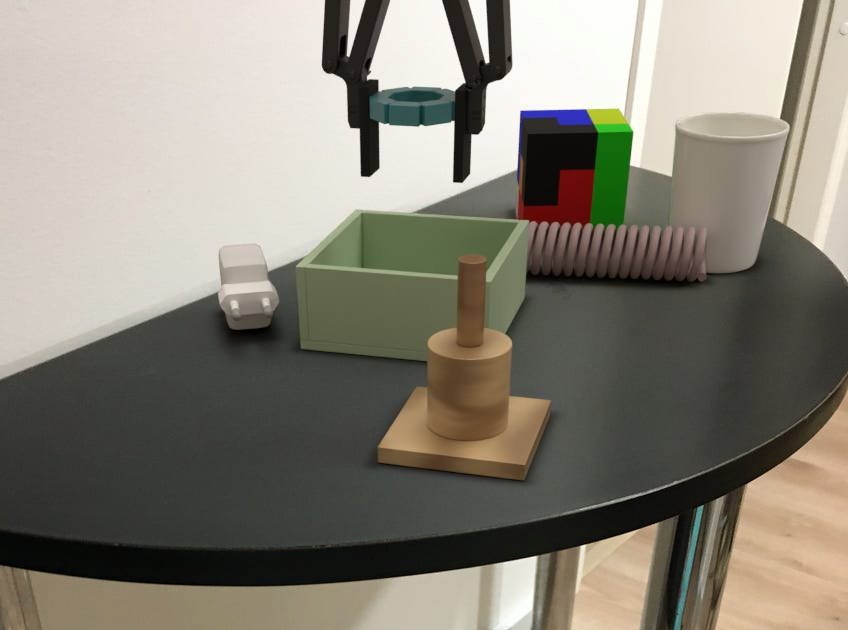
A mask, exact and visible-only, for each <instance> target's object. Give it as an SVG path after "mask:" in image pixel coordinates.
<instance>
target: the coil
mask: <svg viewBox="0 0 848 630" xmlns="http://www.w3.org/2000/svg"><path fill="white" fill-rule="evenodd" d="M662 230H663V233H662ZM684 232H685V230H684V228H683V227H680V226H679V227H677V229H676V231H675V235H674V241H673V229H672V227H671V226H668V225H667V226H665V228H664V229H662V227H661V226H660V225H655V226H653V228H652V230H651V227H650V226H649V225H647V224H645V225H642V226H641V228H640V229H639V226H638V225H637V224H632V225H630V227H629V229H628V226H627V225H626V224H622V225H620V226H619V228H618V230H617V233H616V227H615V225H614V224H610V225H608V227H607V229H606V232H605V227H604V225H603V224H598V225H597V226H596V227H595V230H594V227H593V225H592V224H591V223H588V224H586V225H585V227H584V229H583V227H582V225H581V224H580V223H576V224H574V226H573V228H572V227H571V224H570V223H567V222H566V223H564V224H563V225H562V227H560V224H559V223H558V222H554V223H552V225H551V226H550V227H549V224H548V223H547V222H542V223H541V224H540V225H539V226H538V224H537V223H536V222H535V221H532V222H530V223H529V233H528V250H527V266H526V275H527V273H529V270H530V272H531V274H532V275H533V276H536V275H538V274H539V273H540V269H541V273H542V274H543V276H549V275H550V273H551V269H552V274H553V276H556V277H558V276H560V275H561V274H562V270H563V275H564V276H565V277H571V276H572V274H573V271H574V275H575V277H578V278H580V277H582V276H583V275H584V273H585V276H587V278H593V277H594V275H595V273H596V276H597V277H598V278H599V279H602V278H604V277H605V276H606V275H607V277H608V278H610V279H614V278H616V277H617V276H618V277H619V278H621V279H623V280H624V279H627V277H628V276H629V277H630V278H631V279H632V280H637V279H639V277H640V276H641V278H642V280H645V281H646V280H649V279H650V278H651V277H652V279H653V280H654V281H660V280H661V279H662V278H663V279H664V280H665V281H667V282H669V281H672V280H673V279H675V280H676V281H677V282H682V281H683V280H685V279H686V280H687V281H688V282H690V283H692V282H694V281H696V279H697V280H698V281H699V282H705V281H706V280H707V278H708V277H707V273H706V268H705V263H706V244H707V233H708V230H707V228H705V227H702V228H700V230H699V233H698V238H697V244H696V249H695V239H696V229H695V228H694V227H690V228H688V230H687V234H686V239H685V245H684ZM672 242H673V246H672ZM683 247H684V250H683Z"/></svg>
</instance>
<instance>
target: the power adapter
mask: <svg viewBox="0 0 848 630" xmlns="http://www.w3.org/2000/svg"><path fill="white" fill-rule="evenodd" d="M218 267H219V278H220V286H221V287H220V289H219V290H218V292H217V298H218V302H219V307H220V308H221V310H222V311H223V312H224V315H225V319H226V323H227V325H228V329H231V330H238V331H239V330H251V329H261V328H267V327H268V326H270V325H271V323H272V317H273V316H274V312H275V310H276V308H277V307H278V305H279V303H280V297H279V295H278V294H279V293H278V291H277V289H276V287H275V286H274V284H272V282H271V281H270V279H269V268H268V264H267V261H266V258H265V254H264V251H263V249H262V246H261V245H260V244H258V243H240V244H229V245H224V246H221V247H220V248H219V249H218Z"/></svg>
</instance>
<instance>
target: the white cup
mask: <svg viewBox="0 0 848 630" xmlns="http://www.w3.org/2000/svg"><path fill="white" fill-rule="evenodd" d="M790 130H791V127H790V124H789V123H788V122H787V121H786V120H784V119H781V118H778V117H775V116H771V115H767V114H762V113H755V112H754V113H753V112H743V111H709V112H708V111H707V112H699V113H693V114H688V115H685V116H681V117H680V118H678V119H677V120H676V121H675V124H674V144H673V157H672V170H671V183H670V196H669V210H668V220H667V221H668V222H667V226H671V227H672V229H673V241H674V235H675V231H676V229H677V227H679V226H680V227H683V228H684V230H685V232H684V245H685V239H686V234H687V230H688V228H690V227H694V228H695V229H696V239H695V249H696V244H697V238H698V233H699V230H700V228H702V227H705V228H707V230H708V233H707V244H706V263H705V268H706V274H731V273H737V272H742V271H745V270H748V269H750V268H752V267H753V266H754V265H755V263H756V261H757V259H758V255H759V252H760V248H761V245H762V240H763V237H764V232H765V229H766V228H765V227H766V223H767V219H768V215H769V211H770V208H771V204H772V199H773V196H774V191H775V187H776V183H777V179H778V174H779V171H780V167H781V163H782V158H783V155H784V150H785V146H786V143H787V138H788V135H789V133H790ZM672 246H673V242H672ZM683 250H684V247H683Z"/></svg>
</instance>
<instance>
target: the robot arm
mask: <svg viewBox="0 0 848 630" xmlns="http://www.w3.org/2000/svg"><path fill="white" fill-rule="evenodd" d="M441 2H442V7H443V9H444V13H445V16H446V20H447V23H448V27H449V29H450V34H451V38H452V40H453V44H454V47H455V51H456V55H457V58H458V61H459V65H460V69H461V72H462V76H463V79H464V82H463V83H461V84H460V85H459V87H457V88H456V89H455V90H454V91H455V119H454V121H453V123H454V124H453V157H452V158H453V161H452V163H453V164H452V165H453V166H452V183H453V184H463V183H464V182H465V181H466V180H467V178H468V177H469V176H470V175H471V165H472V162H471V161H472V137H473V135H475V136H478V135H480V134H481V132H482V131H483V130H484V127H485V125H486V113H487V111H486V110H487V109H486V107H487V89H488V87H489V84H491V83H494V82H497V81H501V80H503V79H504V78H505V77H506V76H507V75H508V74H509V73H510V72H511V71H512V69H513V66H514V65H513V63H514V62H513V44H512V43H513V40H512V20H511V17H512V16H511V0H485V6H486V7H485V8H486V27H487V28H486V29H487V44H488V45H487V46H488V62H486V60H485V59H486V58H485V56H484V52H483V49H482V45H481V41H480V37H479V33H478V30H477V26H476V23H475V18H474V15H473V12H472V8H471V5H470V1H469V0H441ZM390 3H391V0H364V4H363V7H362V11H361V14H360V18H359V21H358V25H357V28H356V32H355V34H354V39H353V42H352V46H351V49H350V53H349V56H348V45H349V30H350V29H349V27H350V14H351V0H324V8H323V9H324V10H323V28H322V47H321V48H322V49H321V50H322V51H321V68H322V71H323V72H324V73H325V74H326V75H327V74H328V75H333V76H336V77H339V78H340V79H342V80H343V81H344V82H345V86H346V106H347V109H346V110H347V111H346V112H347V124H348V127H349V128H350V129H356V130H359V154H360V155H359V157H360V158H359V161H360V164H359V165H360V177H361V178H371V177H373V175H374V174H375V173H376V172H377V171H379V170H380V168H381V167H380V165H381V164H380V163H381V161H380V122H378V121H375V120H373V119H370V115H369V97H371V96H372V95H373V94H375V93H376V92H378V91H380V88H379V87H380V86H379V82H380V81H379V79H378V78H377V79H376V78H375V79H374V78H369V79H368V76H369V75H371V73H372V70H371V67H372V63H373V60H374V56H375V53H376V50H377V46H378V42H379V40H380V37H381V33H382V30H383V26H384V23H385V19H386V16H387V13H388V10H389V6H390Z"/></svg>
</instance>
